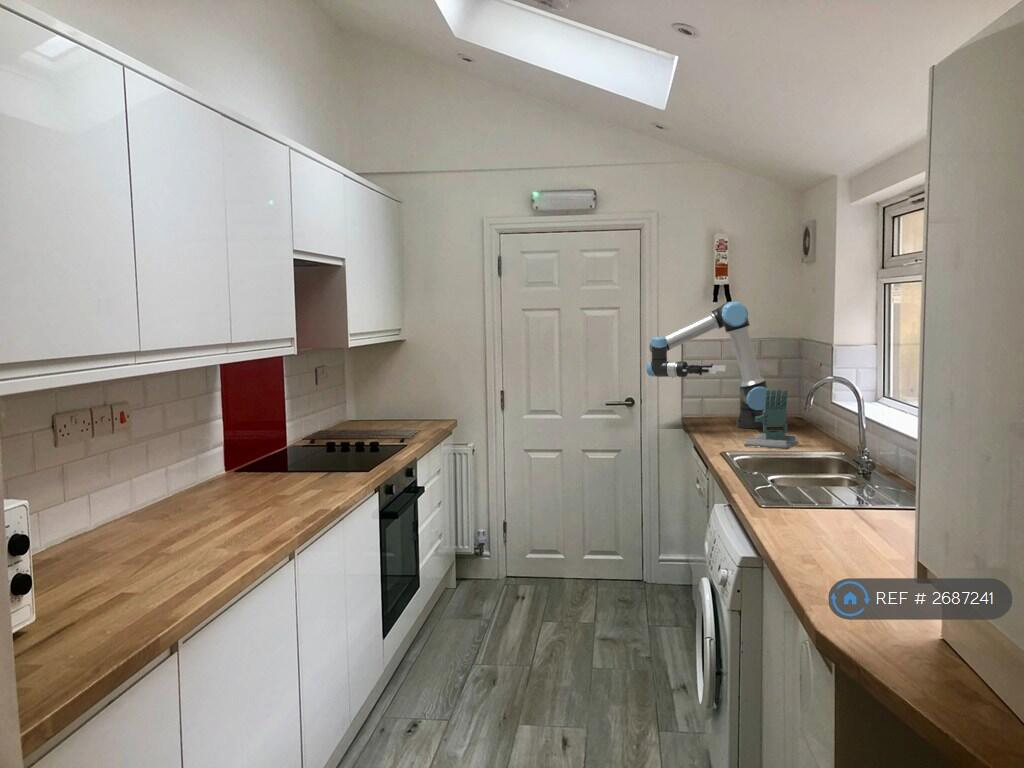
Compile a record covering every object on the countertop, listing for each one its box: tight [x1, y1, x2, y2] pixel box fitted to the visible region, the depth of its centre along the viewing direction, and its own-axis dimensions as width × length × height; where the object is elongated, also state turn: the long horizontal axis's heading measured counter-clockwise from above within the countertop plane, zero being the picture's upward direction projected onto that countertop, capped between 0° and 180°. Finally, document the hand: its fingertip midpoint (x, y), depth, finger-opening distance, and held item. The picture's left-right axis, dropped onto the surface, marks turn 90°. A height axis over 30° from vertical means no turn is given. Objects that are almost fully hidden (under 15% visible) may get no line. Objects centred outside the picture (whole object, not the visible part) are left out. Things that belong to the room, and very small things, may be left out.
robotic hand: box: [755, 388, 789, 440], centre depth 352 cm, size 14×10×25 cm
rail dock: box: [743, 432, 799, 450], centre depth 355 cm, size 18×18×4 cm
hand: (721, 369), depth 380 cm, fingers open, 13 cm apart
